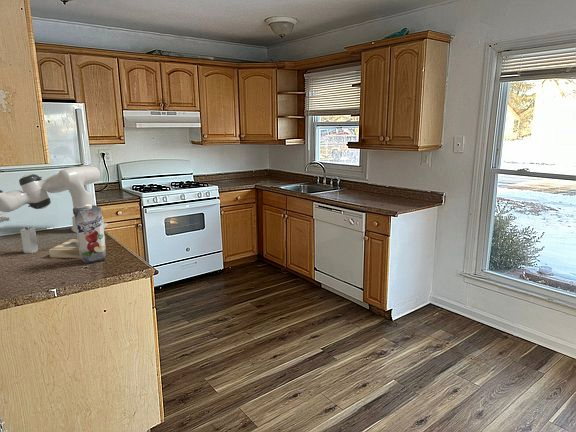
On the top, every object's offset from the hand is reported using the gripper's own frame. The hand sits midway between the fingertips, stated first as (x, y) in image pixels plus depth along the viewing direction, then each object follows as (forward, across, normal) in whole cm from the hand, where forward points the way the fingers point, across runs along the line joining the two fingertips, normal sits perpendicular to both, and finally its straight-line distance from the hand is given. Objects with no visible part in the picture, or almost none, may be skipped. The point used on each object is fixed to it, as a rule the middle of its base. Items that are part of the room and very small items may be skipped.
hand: (2, 221), depth 201 cm
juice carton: (+52, +12, -16) cm, 56 cm away
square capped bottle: (+12, -1, -16) cm, 20 cm away
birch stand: (+36, -1, -16) cm, 40 cm away
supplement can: (+36, -21, -16) cm, 45 cm away
